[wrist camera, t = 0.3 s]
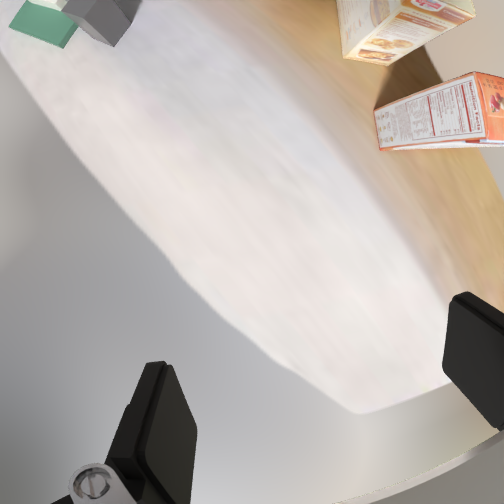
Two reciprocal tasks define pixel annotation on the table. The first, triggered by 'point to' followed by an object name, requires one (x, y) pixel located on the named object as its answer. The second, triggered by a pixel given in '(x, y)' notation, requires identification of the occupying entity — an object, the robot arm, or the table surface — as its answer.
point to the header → (50, 3)
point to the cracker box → (445, 115)
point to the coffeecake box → (395, 26)
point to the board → (44, 24)
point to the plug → (98, 19)
